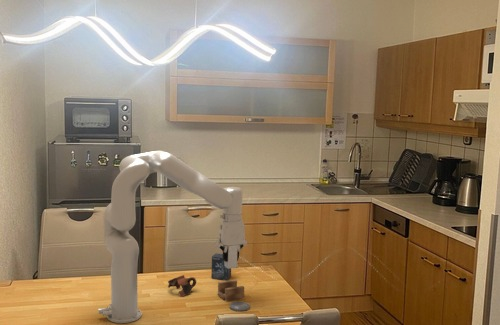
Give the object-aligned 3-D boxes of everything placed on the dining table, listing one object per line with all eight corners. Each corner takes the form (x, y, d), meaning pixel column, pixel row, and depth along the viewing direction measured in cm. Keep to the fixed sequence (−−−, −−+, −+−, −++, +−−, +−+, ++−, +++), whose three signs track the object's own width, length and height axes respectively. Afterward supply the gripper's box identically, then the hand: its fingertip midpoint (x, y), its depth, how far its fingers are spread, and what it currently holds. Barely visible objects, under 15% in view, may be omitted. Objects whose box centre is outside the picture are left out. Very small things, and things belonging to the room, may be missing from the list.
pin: (228, 268, 214) (229, 242, 213) (223, 265, 219) (224, 239, 217) (237, 268, 216) (238, 241, 215) (232, 264, 220) (233, 238, 219)
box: (211, 278, 239) (211, 256, 238) (215, 274, 245) (215, 252, 243) (227, 280, 237) (227, 258, 236) (231, 276, 242) (231, 254, 241)
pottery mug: (174, 299, 215) (167, 280, 217) (171, 301, 224) (164, 283, 226) (201, 288, 220) (194, 270, 221) (197, 291, 228) (190, 273, 230)
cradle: (224, 301, 213) (224, 289, 213) (216, 293, 222) (216, 282, 221) (245, 298, 217) (245, 286, 216) (237, 290, 225) (237, 279, 225)
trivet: (234, 312, 203) (234, 310, 203) (226, 304, 210) (226, 302, 210) (252, 309, 206) (253, 307, 206) (244, 302, 213) (245, 300, 213)
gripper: (216, 220, 208) (214, 265, 210) (254, 218, 215) (252, 261, 217) (210, 216, 215) (208, 259, 217) (247, 214, 222) (245, 256, 224)
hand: (230, 260), depth 217 cm, fingers closed on pin, 4 cm apart
